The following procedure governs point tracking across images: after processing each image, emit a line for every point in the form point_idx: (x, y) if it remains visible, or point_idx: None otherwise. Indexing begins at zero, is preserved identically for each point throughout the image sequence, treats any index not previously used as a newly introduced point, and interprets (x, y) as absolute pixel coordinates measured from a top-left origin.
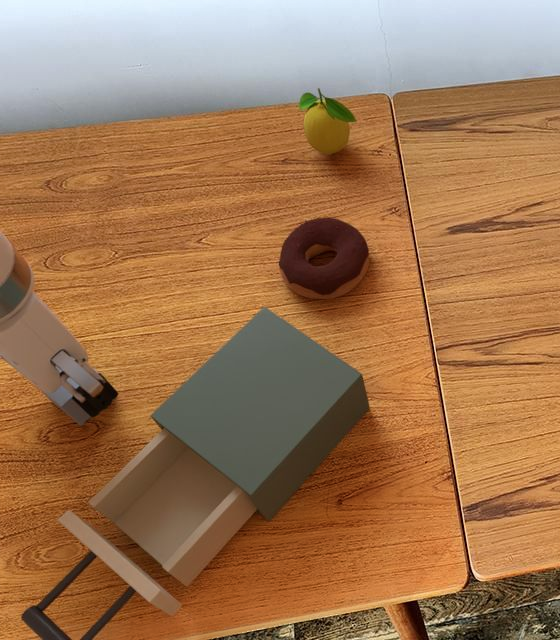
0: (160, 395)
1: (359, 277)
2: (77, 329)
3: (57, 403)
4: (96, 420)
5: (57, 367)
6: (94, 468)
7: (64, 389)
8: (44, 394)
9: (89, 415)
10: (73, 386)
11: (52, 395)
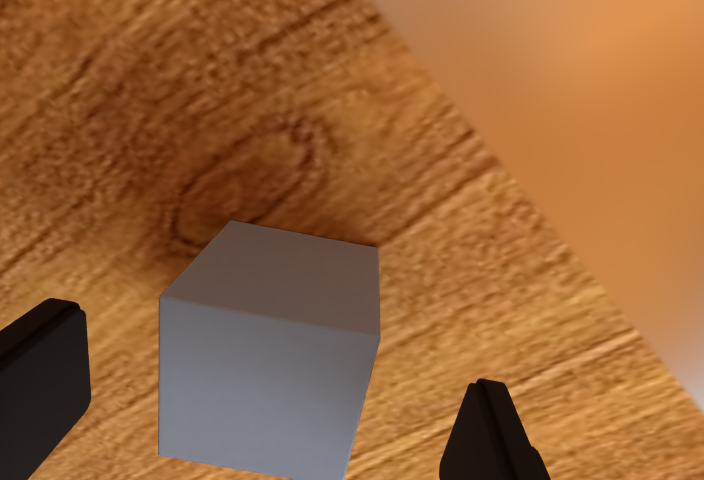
0: (115, 378)
1: None
2: None
3: (188, 301)
4: None
5: (325, 421)
6: (71, 116)
7: (214, 363)
8: (357, 281)
9: (58, 302)
10: (193, 385)
11: (239, 322)
